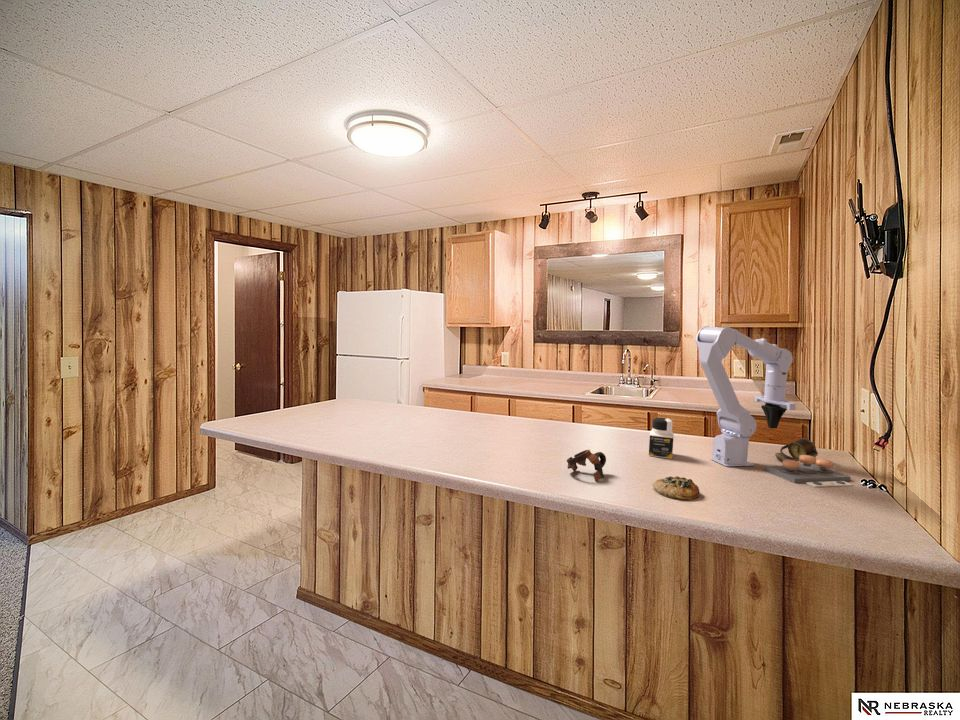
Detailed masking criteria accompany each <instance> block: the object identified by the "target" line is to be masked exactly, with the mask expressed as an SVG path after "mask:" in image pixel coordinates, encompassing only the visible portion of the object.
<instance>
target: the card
mask: <svg viewBox="0 0 960 720" xmlns="http://www.w3.org/2000/svg"><path fill="white" fill-rule="evenodd" d="M805 484H807V485H809V486H811V487H814V488H819V487H820V488H822V487H823V488H824V487H825V488H826V487H847V486H848V487H852V486H854V484H853V483H850V482H848V481H823V482H805Z"/></svg>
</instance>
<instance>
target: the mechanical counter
mask: <svg viewBox="0 0 960 720" xmlns="http://www.w3.org/2000/svg"><path fill="white" fill-rule="evenodd" d="M785 449H787V450H788V454H789V455H787V454H786V453H784V451H783V450H785ZM818 454H819V452H818V451H817V447H816V445H815V444H814V443H813V442H812V441H811V440H810V439H808V438H804V437H802V438H799V439H797V440H794V441H793V442H792V441H791V442H790V443H787V444H785V445H783V446H781V447H780V449H779V452H775V458H776V460H777V461H778V462H780V461H781V462H782V461H783V460H784V459H788V460H794V461H797V462H800V461H799V457H800V455H809V456H813V457H816V456H818ZM816 458H817V457H816ZM781 462H780V463H781Z"/></svg>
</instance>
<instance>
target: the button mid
mask: <svg viewBox="0 0 960 720" xmlns="http://www.w3.org/2000/svg"><path fill="white" fill-rule="evenodd" d="M816 459H817V457H813V456H809V455H800V457H799V461H798V462H799V463H802V465H804V466H808V467H810V466H811V465H815V464H816Z"/></svg>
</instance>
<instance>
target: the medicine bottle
mask: <svg viewBox="0 0 960 720" xmlns="http://www.w3.org/2000/svg"><path fill="white" fill-rule="evenodd" d="M673 423H674V422H673V420H672V419H670V418H666V417H655V418H653V419H652V426H651V427H652V429H651V430H650V432H649V441H648V457H654V458H655V457H656V458H662V459H663V458H664V459H669V460H670V459H671V460H672V459H673V453H674V452H673V450H674V436H675V434H674V432H673Z"/></svg>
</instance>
